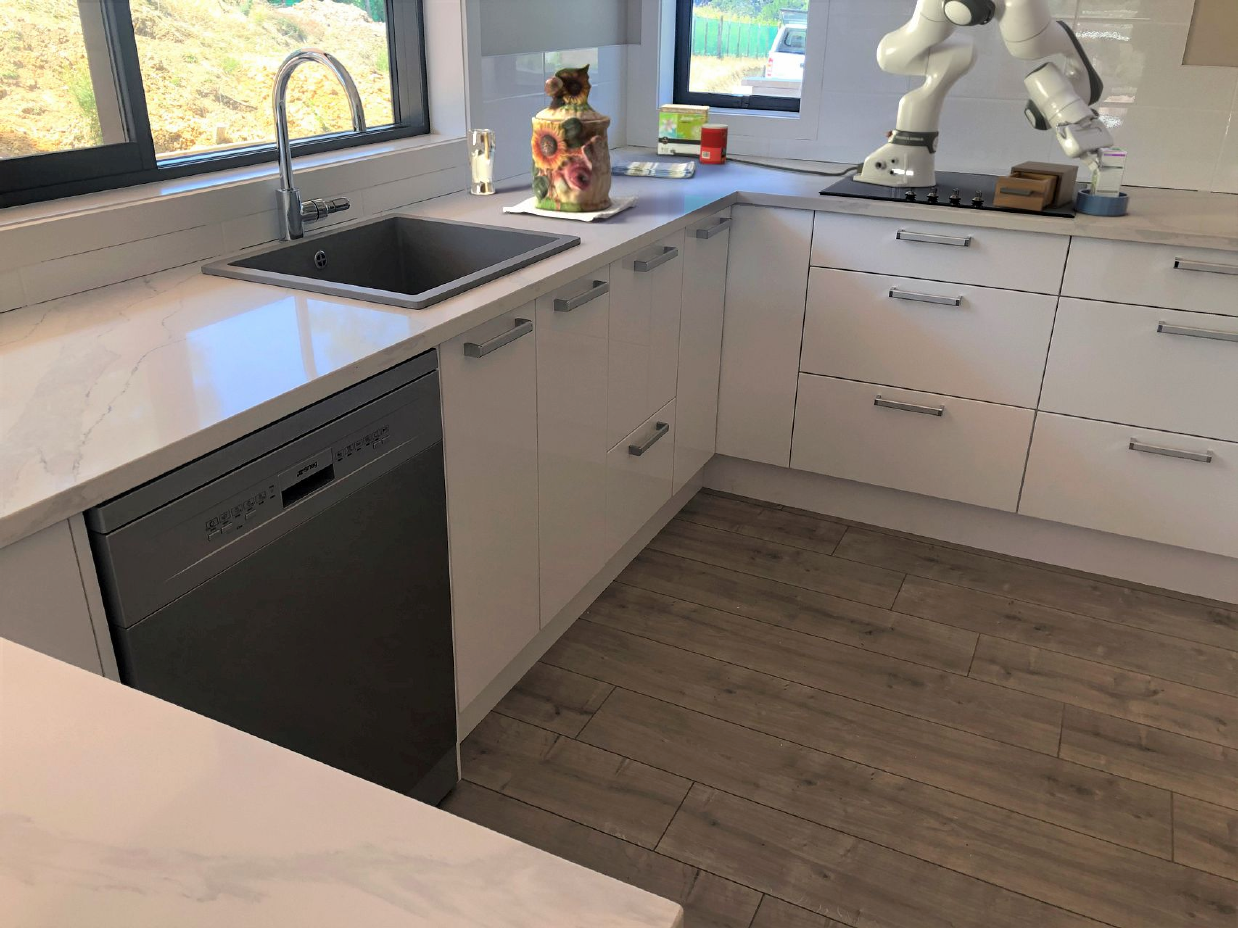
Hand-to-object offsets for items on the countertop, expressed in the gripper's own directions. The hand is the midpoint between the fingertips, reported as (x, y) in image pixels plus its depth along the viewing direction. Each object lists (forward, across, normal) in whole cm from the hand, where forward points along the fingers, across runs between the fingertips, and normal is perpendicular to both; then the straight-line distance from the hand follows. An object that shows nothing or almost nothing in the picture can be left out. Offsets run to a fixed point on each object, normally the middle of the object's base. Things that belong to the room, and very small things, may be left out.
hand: (1104, 167), depth 243 cm
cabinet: (-4, +3, +18) cm, 19 cm away
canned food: (-71, -14, +86) cm, 112 cm away
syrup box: (+8, 0, +7) cm, 10 cm away
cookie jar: (-50, -100, +65) cm, 129 cm away
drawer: (-2, -12, +16) cm, 20 cm away
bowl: (+8, 0, +7) cm, 11 cm away
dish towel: (-69, -43, +84) cm, 117 cm away
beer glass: (-72, -102, +87) cm, 152 cm away
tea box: (-84, -8, +99) cm, 130 cm away
